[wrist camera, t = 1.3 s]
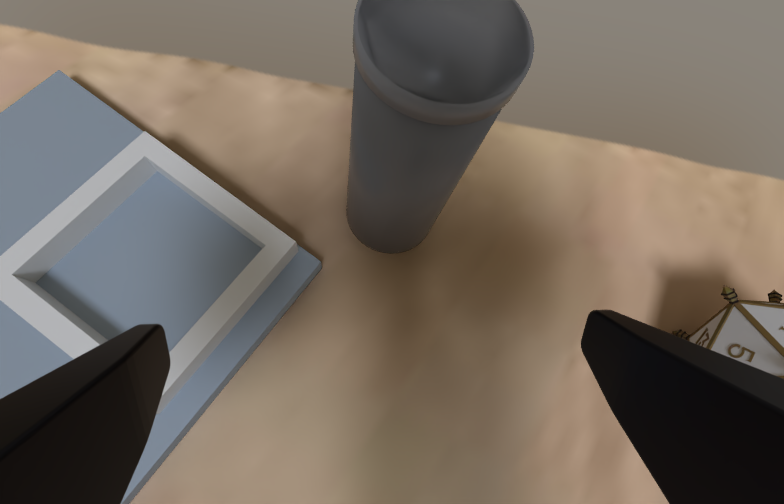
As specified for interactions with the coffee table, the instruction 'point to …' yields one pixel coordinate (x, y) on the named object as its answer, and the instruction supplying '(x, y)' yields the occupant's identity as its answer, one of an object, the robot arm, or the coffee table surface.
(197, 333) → the grey base plate
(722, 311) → the game die
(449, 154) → the grey tall cup
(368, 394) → the coffee table surface
